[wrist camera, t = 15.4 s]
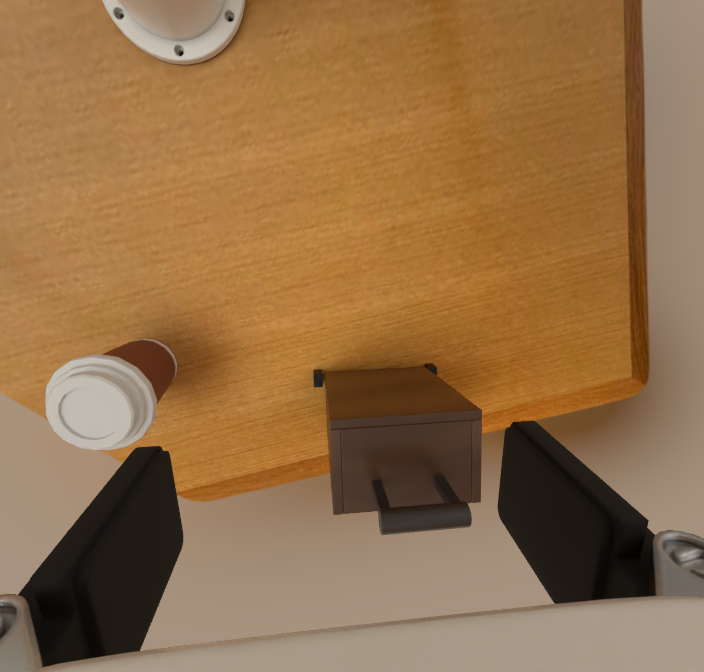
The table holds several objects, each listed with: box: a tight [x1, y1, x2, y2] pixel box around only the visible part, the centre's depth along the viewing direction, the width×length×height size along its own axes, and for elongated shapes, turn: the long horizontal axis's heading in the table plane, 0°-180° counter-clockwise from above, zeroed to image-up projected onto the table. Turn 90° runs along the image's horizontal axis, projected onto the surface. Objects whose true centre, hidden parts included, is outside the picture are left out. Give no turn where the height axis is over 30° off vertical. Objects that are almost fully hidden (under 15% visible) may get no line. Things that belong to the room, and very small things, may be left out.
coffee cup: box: [46, 338, 177, 450], centre depth 38 cm, size 9×9×12 cm
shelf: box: [325, 367, 482, 535], centre depth 36 cm, size 21×12×8 cm
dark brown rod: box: [314, 364, 437, 387], centre depth 46 cm, size 2×15×2 cm, turn 92°
